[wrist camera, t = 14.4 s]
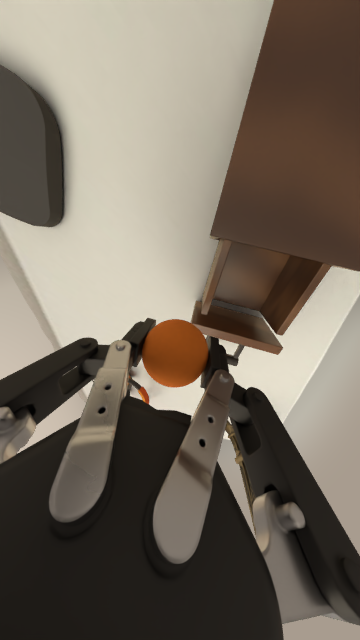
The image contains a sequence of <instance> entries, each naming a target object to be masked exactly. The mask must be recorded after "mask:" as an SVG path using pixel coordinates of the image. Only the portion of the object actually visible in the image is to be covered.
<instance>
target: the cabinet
mask: <svg viewBox="0 0 360 640" xmlns="http://www.w3.org/2000/svg"><path fill="white" fill-rule="evenodd" d="M210 238H212V239H216V240H220V238H221V239H225V240H230V241H234V242H238V243H242V244H246V245H250V246H254V247H259V248H263V249H267V250H271V251H275V252H279V253H283V254H288V255H292V256H296V257H300V258H304V259H308V260H312V261H317V262H321V263H325V264H329V265H332V266H334V267H339V268H344V269H350V270H354V271H360V0H274V2H273V6H272V9H271V13H270V17H269V21H268V24H267V28H266V32H265V35H264V39H263V43H262V46H261V50H260V54H259V57H258V61H257V65H256V68H255V72H254V76H253V79H252V83H251V87H250V90H249V94H248V98H247V101H246V105H245V109H244V112H243V116H242V120H241V123H240V127H239V131H238V134H237V138H236V142H235V145H234V149H233V153H232V156H231V160H230V164H229V168H228V171H227V175H226V179H225V182H224V186H223V190H222V193H221V197H220V201H219V204H218V208H217V212H216V215H215V219H214V223H213V226H212V230H211V234H210Z"/></svg>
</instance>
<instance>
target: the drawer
mask: <svg viewBox="0 0 360 640" xmlns="http://www.w3.org/2000/svg"><path fill="white" fill-rule="evenodd" d="M331 266H332V265H329V264H325V263H321V262H317V261H312V260H308V259H304V258H300V257H296V256H292V255H288V254H283V253H279V252H275V251H271V250H267V249H263V248H259V247H254V246H250V245H246V244H242V243H238V242H234V241H230V240H225V239H221V238H220V241H219V244H218V247H217V250H216V254H215V257H214V260H213V264H212V267H211V270H210V273H209V277H208V280H207V283H206V286H205V290H204V293H203V299H202V302H199V301H196V303H195V306H194V311H193V315H192V320H191V324H193V325H194V326H196V327H197V328H198V329H199V330H200V331H201V332H202V334H205V335H207V338H206V342H207V341H208V339H209V337H210V336H212V337H216V338H219V339H223V340H227V341H230V342H234V343H237V344H239V346H238V348H237V350H236V352H235V353H234V355H229V354H226V356H227V362H228V364H230V365H233V366H237V364H238V357H239V355H240V353H241V352H242V350H243V348H244V346H248V347H252V348H255V349H259V350H263V351H266V352H270V353H273V354H277V355H278V354H279V353H280V352H281V350H282V349H283V347H282V346H281V344H280V343H279V341H278V340H277V338H276V337H275V335H274V334H273V333H272V331H271V330H270V328H269V327H268V325H267V324H266V323H265V321H264V320H263V318H259V317H256V316H252V315H248V314H244V313H241V312H237V311H233V310H229V309H226V308H222V307H218V306H214V305H211V302H212V299H215V300H219V301H223V302H227V303H230V304H234V305H238V306H242V307H245V308H249V309H253V310H257V311H260V312H261V314H262V315H263V317H264V318H265V319H266V321H267V322H268V323H269V325H270V326H271V328H272V329H273V330H274V332H275V333H276V334H278V335H283V334H284V333H285V331H286V330H287V328H288V327H289V325H290V324H291V323H292V321H293V320H294V318H295V317H296V316H297V314H298V313H299V311H300V310H301V309H302V307H303V306H304V304H305V303H306V301H307V300H308V299H309V297H310V296H311V294H312V293H313V292H314V290H315V289H316V287H317V286H318V284H319V283H320V282H321V280H322V279H323V277H324V276H325V275H326V273H327V272H328V270H329V269H330V267H331Z"/></svg>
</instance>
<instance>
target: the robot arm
mask: <svg viewBox="0 0 360 640" xmlns="http://www.w3.org/2000/svg"><path fill="white" fill-rule="evenodd" d="M155 325H156V320H154V319H150V318H147V319H146V320H145V322H141V321H140V322H138V323H136V324H135V325H134V326H133V328H131V330H130V331H129V332H128V333H127V334H126V335H125V336H124V337H123V339H122V340H117V341H114V342H113V343H111V345H98V342H97V340H95V339H94V338H82V339H79V340H77V341H75V342H73V343H71V344H69V345H67V346H65V347H64V348H62V349H60V350H58V351H56V352H54V353H52V354H50V355H48V356H46V357H44V358H42V359H40V360H38V361H36V362H35V363H32V364H30V365H29V366H27V367H25V368H23V369H21V370H19V371H17V372H15V373H13V374H11V375H9V376H7V377H5V378H3V379H1V380H0V640H283V630H282V624H284V623H289V622H293V621H298V620H302V619H307V618H311V617H316V616H320V615H322V616H326V617H330V618H333V619H337V620H341V621H345V622H349V623H353V624H356V625H360V556H359V554H358V553H357V551H356V549H355V547H354V546H353V544H352V543H351V541H350V539H349V537H348V535H347V534H346V532H345V530H344V529H343V527H342V525H341V524H340V522H339V520H338V518H337V517H336V515H335V513H334V511H333V510H332V508H331V506H330V505H329V503H328V501H327V499H326V498H325V496H324V494H323V493H322V491H321V489H320V487H319V486H318V484H317V482H316V481H315V479H314V477H313V475H312V474H311V472H310V470H309V469H308V467H307V465H306V464H305V462H304V460H303V458H302V457H301V455H300V453H299V452H298V450H297V448H296V446H295V445H294V443H293V441H292V439H291V438H290V436H289V434H288V433H287V431H286V429H285V427H284V426H283V424H282V422H281V421H280V419H279V417H278V415H277V414H276V412H275V410H274V409H273V407H272V405H271V403H270V402H269V400H268V398H267V397H266V395H265V394H264V393H263V392H262V391H260V390H259V389H257V388H254V387H250V388H248V389H247V390H246V389H244V388H242V387H241V386H239V385H237V384H236V383H235V381H234V378H233V376H232V375H231V374H230V373H229V369H228V362H227V356H226V350H225V348H224V347H223V346H222V345H219V339H218V338H215V337H212V336H210V337H209V339H208V341H207V345H208V361H207V364H206V367H205V369H204V371H203V372H202V374H201V387H202V388H205V392H204V394H203V396H202V399H201V401H200V403H199V405H198V407H197V409H196V411H195V413H194V415H193V417H192V419H191V415H187V414H184V413H181V412H178V411H172V410H156V409H155V408H153V407H152V406H150V405H149V404H147V403H146V402H144V401H143V400H140V399H137V398H134V397H131V396H128V395H126V391H127V385H128V378H129V370H130V369H131V367H132V366H134V367H137V365H138V363H139V362H140V360H141V358H142V348H143V344H144V341H145V338H146V336H147V335H148V333H149V332H150V331H151V330H152V329H153V328H154V327H155ZM76 366H77V367H76ZM73 368H74V369H73ZM70 370H71V371H70ZM67 372H68V373H67ZM65 373H66V374H65ZM64 374H65V375H64ZM95 377H96V378H95ZM94 378H95V380H94V383H93V386H92V389H91V391H90V394H89V397H88V399H87V402H86V405H85V408H84V410H83V413H82V416H81V418H79V419H77V420H75V421H74V422H72V423H70V424H68V425H67V426H65V427H63V428H61V429H60V430H58V431H56V432H54V433H53V434H51V435H49V436H48V437H46V438H44V439H42V440H41V441H39V442H37V443H36V444H34V445H32V446H30V447H28V448H27V449H25V450H23V451H21V452H20V453H18V454H17V452H18V451H19V449H20V448H22V447H23V446H25V445H26V444H27V442H28V441H29V439H30V437H31V436H32V435H33V433H34V431H35V429H36V425H37V424H38V423H40V422H41V421H42V420H43V419H45V418H46V417H47V416H48V415H49V414H50V413H52V412H53V411H54V410H56V409H57V408H58V407H59V406H61V405H62V404H63V403H64V402H65V401H67V400H68V399H69V398H70V397H72V396H73V395H74V394H75V393H76V392H78V391H79V390H80V389H81V388H83V387H84V386H85V385H86V384H88V383H89V382H90V381H91V380H92V379H94ZM228 416H229V417H230V420H231V423H232V426H233V430H234V433H235V436H236V439H237V442H238V445H239V448H240V451H241V455H242V458H243V461H244V464H245V467H246V470H247V473H248V476H249V480H250V483H251V486H252V489H253V492H254V495H255V498H256V499H255V501H254V503H253V521H254V525H255V528H256V540H255V538H254V536H253V534H252V532H251V530H250V527H249V526H248V524H247V521H246V519H245V517H244V515H243V513H242V511H241V509H240V507H239V505H238V503H237V501H236V499H235V497H234V494H233V492H232V490H231V489H230V486H229V484H228V482H227V480H226V478H225V476H224V474H223V472H222V470H221V468H220V466H219V464H218V462H217V459H218V455H219V451H220V447H221V443H222V439H223V435H224V431H225V427H226V424H227V420H228Z"/></svg>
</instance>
